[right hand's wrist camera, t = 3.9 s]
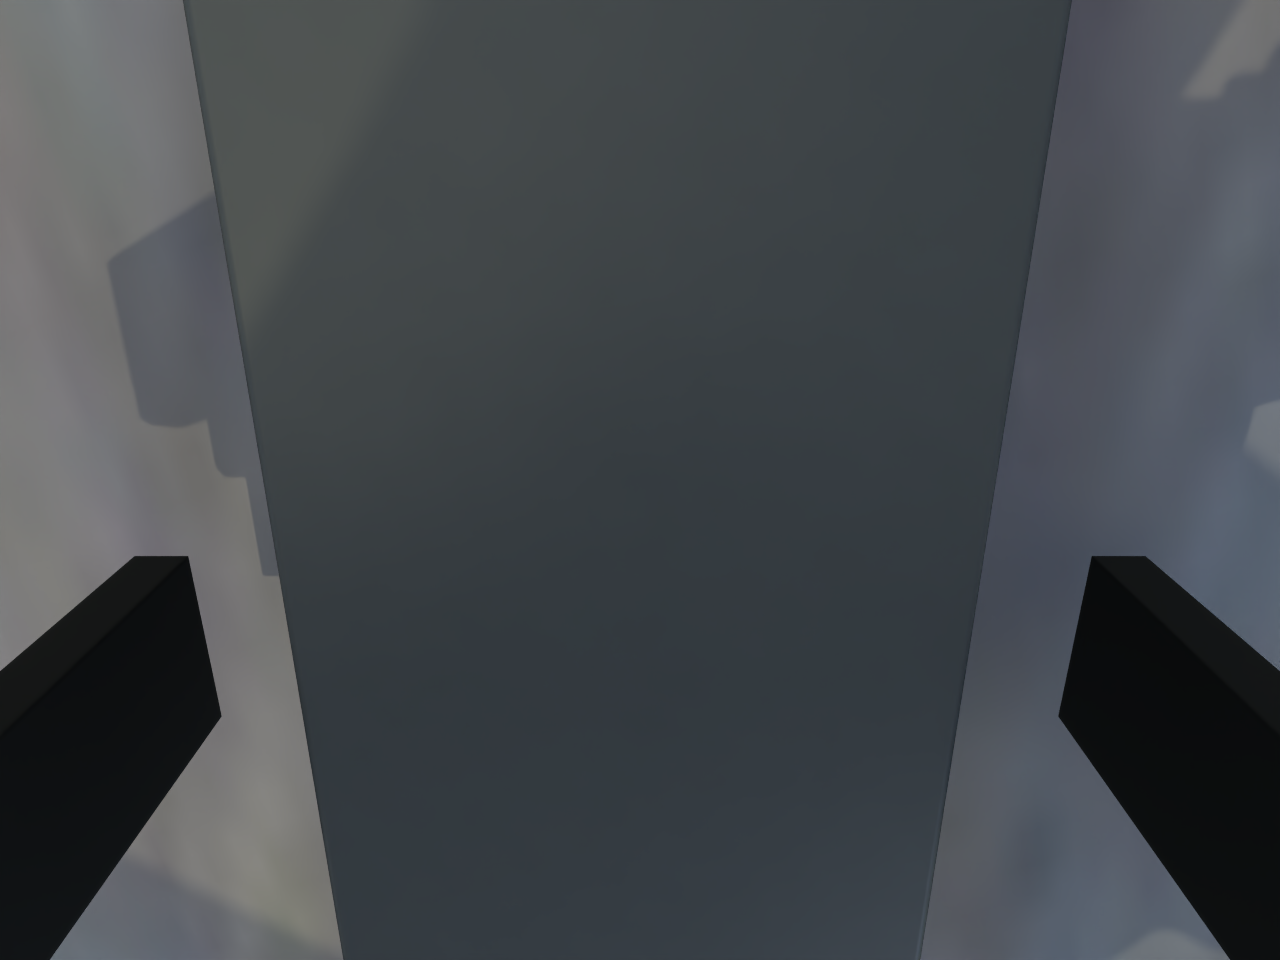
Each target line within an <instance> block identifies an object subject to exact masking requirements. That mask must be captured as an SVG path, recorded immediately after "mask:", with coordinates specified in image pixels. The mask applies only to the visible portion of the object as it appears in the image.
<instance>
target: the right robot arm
mask: <svg viewBox="0 0 1280 960" xmlns="http://www.w3.org/2000/svg"><path fill="white" fill-rule="evenodd" d="M220 718H221V711H220V706H219V702H218V697H217V692H216V687H215V682H214V678H213V673H212V668H211V663H210V659H209V654H208V649H207V644H206V639H205V635H204V630H203V625H202V620H201V616H200V611H199V606H198V601H197V596H196V592H195V587H194V582H193V577H192V572H191V568H190V563H189V558H188V556H134V557H133V558H132V559H131V560H130V561H128V562H127V563H126V564H125V565H124V566H123V567H121V568H120V569H119V570H118V571H117V572H116V573H114V574H113V575H112V576H111V577H110V578H109V579H107V580H106V581H105V582H104V583H103V584H102V585H100V586H99V587H98V588H97V589H96V590H95V591H93V592H92V593H91V594H90V595H89V596H88V597H86V598H85V599H84V600H83V601H82V602H81V603H79V604H78V605H77V606H76V607H75V608H74V609H72V610H71V611H70V612H69V613H68V614H67V615H65V616H64V617H63V618H62V619H61V620H60V621H58V622H57V623H56V624H55V625H54V626H52V627H51V628H50V629H49V630H48V631H47V632H45V633H44V634H43V635H42V636H41V637H40V638H38V639H37V640H36V641H35V642H34V643H33V644H31V645H30V646H29V647H28V648H27V649H26V650H24V651H23V652H22V653H21V654H20V655H19V656H17V657H16V658H15V659H14V660H13V661H12V662H10V663H9V664H8V665H7V666H6V667H5V668H3V669H2V670H1V671H0V960H50V959H51V957H52V956H53V954H54V953H55V951H56V950H57V949H58V947H59V946H60V944H61V943H62V942H63V940H64V939H65V937H66V936H67V934H68V933H69V932H70V930H71V929H72V927H73V926H74V925H75V923H76V922H77V920H78V919H79V917H80V916H81V915H82V913H83V912H84V910H85V909H86V908H87V906H88V905H89V903H90V902H91V900H92V899H93V898H94V896H95V895H96V893H97V892H98V891H99V889H100V888H101V886H102V885H103V883H104V882H105V881H106V879H107V878H108V876H109V875H110V874H111V872H112V871H113V869H114V868H115V866H116V865H117V864H118V862H119V861H120V859H121V858H122V857H123V855H124V854H125V852H126V851H127V850H128V848H129V847H130V845H131V844H132V842H133V841H134V840H135V838H136V837H137V835H138V834H139V833H140V831H141V830H142V828H143V827H144V825H145V824H146V823H147V821H148V820H149V818H150V817H151V816H152V814H153V813H154V811H155V810H156V808H157V807H158V806H159V804H160V803H161V801H162V800H163V799H164V797H165V796H166V794H167V793H168V791H169V790H170V789H171V787H172V786H173V784H174V783H175V782H176V780H177V779H178V777H179V776H180V774H181V773H182V772H183V770H184V769H185V767H186V766H187V765H188V763H189V762H190V760H191V759H192V757H193V756H194V755H195V753H196V752H197V750H198V749H199V748H200V746H201V745H202V743H203V742H204V740H205V739H206V738H207V736H208V735H209V733H210V732H211V731H212V729H213V728H214V726H215V725H216V723H217V722H218V721H219V719H220ZM1059 718H1060V719H1061V721H1062V722H1063V724H1064V725H1065V726H1066V728H1067V729H1068V731H1069V732H1070V733H1071V735H1072V736H1073V738H1074V739H1075V741H1076V742H1077V743H1078V745H1079V746H1080V748H1081V749H1082V750H1083V752H1084V753H1085V755H1086V756H1087V758H1088V759H1089V760H1090V762H1091V763H1092V765H1093V766H1094V767H1095V769H1096V770H1097V772H1098V773H1099V774H1100V776H1101V777H1102V779H1103V780H1104V782H1105V783H1106V784H1107V786H1108V787H1109V789H1110V790H1111V791H1112V793H1113V794H1114V796H1115V797H1116V799H1117V800H1118V801H1119V803H1120V804H1121V806H1122V807H1123V808H1124V810H1125V811H1126V813H1127V814H1128V816H1129V817H1130V818H1131V820H1132V821H1133V823H1134V824H1135V825H1136V827H1137V828H1138V830H1139V831H1140V833H1141V834H1142V835H1143V837H1144V838H1145V840H1146V841H1147V842H1148V844H1149V845H1150V847H1151V848H1152V850H1153V851H1154V852H1155V854H1156V855H1157V857H1158V858H1159V859H1160V861H1161V862H1162V864H1163V865H1164V867H1165V868H1166V869H1167V871H1168V872H1169V874H1170V875H1171V876H1172V878H1173V879H1174V881H1175V882H1176V884H1177V885H1178V886H1179V888H1180V889H1181V891H1182V892H1183V893H1184V895H1185V896H1186V898H1187V899H1188V901H1189V902H1190V903H1191V905H1192V906H1193V908H1194V909H1195V910H1196V912H1197V913H1198V915H1199V916H1200V918H1201V919H1202V920H1203V922H1204V923H1205V925H1206V926H1207V927H1208V929H1209V930H1210V932H1211V933H1212V935H1213V936H1214V937H1215V939H1216V940H1217V942H1218V943H1219V944H1220V946H1221V947H1222V949H1223V950H1224V952H1225V953H1226V954H1227V956H1228V957H1229V959H1230V960H1280V671H1279V670H1278V669H1277V668H1275V667H1274V666H1273V665H1272V664H1271V663H1270V662H1268V661H1267V660H1266V659H1265V658H1264V657H1263V656H1261V655H1260V654H1259V653H1258V652H1257V651H1256V650H1254V649H1253V648H1252V647H1251V646H1250V645H1248V644H1247V643H1246V642H1245V641H1244V640H1243V639H1241V638H1240V637H1239V636H1238V635H1237V634H1236V633H1234V632H1233V631H1232V630H1231V629H1230V628H1229V627H1227V626H1226V625H1225V624H1224V623H1223V622H1222V621H1220V620H1219V619H1218V618H1217V617H1216V616H1215V615H1213V614H1212V613H1211V612H1210V611H1209V610H1208V609H1206V608H1205V607H1204V606H1203V605H1202V604H1201V603H1199V602H1198V601H1197V600H1196V599H1195V598H1194V597H1192V596H1191V595H1190V594H1189V593H1188V592H1187V591H1185V590H1184V589H1183V588H1182V587H1181V586H1180V585H1178V584H1177V583H1176V582H1175V581H1174V580H1173V579H1171V578H1170V577H1169V576H1168V575H1167V574H1166V573H1164V572H1163V571H1162V570H1161V569H1160V568H1159V567H1157V566H1156V565H1155V564H1154V563H1153V562H1152V561H1150V560H1149V559H1148V558H1147V557H1146V556H1092V558H1091V563H1090V567H1089V572H1088V577H1087V582H1086V587H1085V591H1084V596H1083V601H1082V606H1081V611H1080V615H1079V620H1078V625H1077V630H1076V634H1075V639H1074V644H1073V649H1072V654H1071V658H1070V663H1069V668H1068V673H1067V677H1066V682H1065V687H1064V692H1063V697H1062V701H1061V706H1060V711H1059Z"/></svg>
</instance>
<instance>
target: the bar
mask: <svg viewBox="0 0 1280 960" xmlns="http://www.w3.org/2000/svg"><path fill="white" fill-rule="evenodd" d="M1071 2H1072V0H183V3H184V9H185V15H186V21H187V27H188V33H189V39H190V45H191V51H192V57H193V63H194V69H195V75H196V81H197V87H198V93H199V99H200V105H201V111H202V117H203V123H204V129H205V135H206V141H207V147H208V153H209V159H210V165H211V171H212V177H213V183H214V189H215V195H216V201H217V207H218V212H219V218H220V224H221V230H222V236H223V242H224V248H225V254H226V260H227V266H228V272H229V278H230V284H231V290H232V296H233V302H234V308H235V314H236V320H237V326H238V332H239V338H240V344H241V350H242V356H243V362H244V368H245V374H246V380H247V386H248V392H249V398H250V404H251V410H252V416H253V422H254V428H255V434H256V440H257V446H258V451H259V457H260V463H261V469H262V475H263V481H264V487H265V493H266V499H267V505H268V511H269V517H270V523H271V529H272V535H273V541H274V547H275V553H276V559H277V565H278V571H279V577H280V583H281V589H282V595H283V601H284V607H285V613H286V619H287V625H288V631H289V637H290V643H291V649H292V655H293V661H294V667H295V673H296V679H297V684H298V690H299V696H300V702H301V708H302V714H303V720H304V726H305V732H306V738H307V744H308V750H309V756H310V762H311V768H312V774H313V780H314V786H315V792H316V798H317V804H318V810H319V816H320V822H321V828H322V834H323V840H324V846H325V852H326V858H327V864H328V870H329V876H330V882H331V888H332V894H333V900H334V906H335V912H336V918H337V923H338V929H339V935H340V941H341V947H342V953H343V959H344V960H920V957H921V951H922V944H923V938H924V932H925V925H926V919H927V913H928V906H929V900H930V894H931V887H932V881H933V875H934V869H935V862H936V856H937V850H938V843H939V837H940V831H941V824H942V818H943V812H944V805H945V799H946V793H947V786H948V780H949V774H950V767H951V761H952V755H953V748H954V742H955V736H956V729H957V723H958V717H959V710H960V704H961V698H962V691H963V685H964V679H965V672H966V666H967V660H968V653H969V647H970V641H971V634H972V628H973V622H974V615H975V609H976V603H977V596H978V590H979V584H980V577H981V571H982V565H983V558H984V552H985V546H986V539H987V533H988V527H989V520H990V514H991V508H992V502H993V495H994V489H995V483H996V476H997V470H998V464H999V457H1000V451H1001V445H1002V438H1003V432H1004V426H1005V419H1006V413H1007V407H1008V400H1009V394H1010V388H1011V381H1012V375H1013V369H1014V362H1015V356H1016V350H1017V343H1018V337H1019V331H1020V324H1021V318H1022V312H1023V305H1024V299H1025V293H1026V286H1027V280H1028V274H1029V267H1030V261H1031V255H1032V248H1033V242H1034V236H1035V229H1036V223H1037V217H1038V210H1039V204H1040V198H1041V191H1042V185H1043V179H1044V172H1045V166H1046V160H1047V154H1048V147H1049V141H1050V135H1051V128H1052V122H1053V116H1054V109H1055V103H1056V97H1057V90H1058V84H1059V78H1060V71H1061V65H1062V59H1063V52H1064V46H1065V40H1066V33H1067V27H1068V21H1069V14H1070V8H1071Z"/></svg>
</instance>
